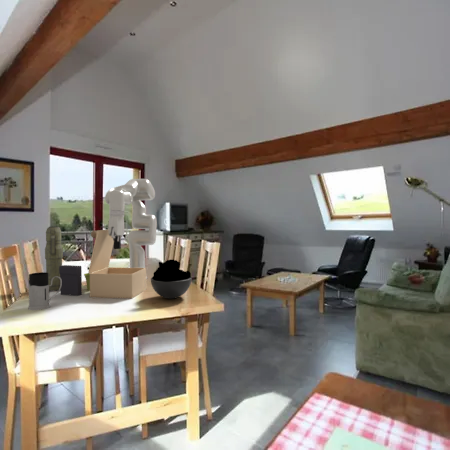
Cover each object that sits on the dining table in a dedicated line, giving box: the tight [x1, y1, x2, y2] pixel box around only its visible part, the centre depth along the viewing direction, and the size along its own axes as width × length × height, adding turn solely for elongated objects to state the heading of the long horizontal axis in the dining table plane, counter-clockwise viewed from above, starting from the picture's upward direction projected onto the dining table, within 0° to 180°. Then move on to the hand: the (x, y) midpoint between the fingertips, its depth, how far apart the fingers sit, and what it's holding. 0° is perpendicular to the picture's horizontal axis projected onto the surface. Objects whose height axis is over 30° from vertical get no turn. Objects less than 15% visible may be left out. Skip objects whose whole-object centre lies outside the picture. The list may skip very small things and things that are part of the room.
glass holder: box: [27, 271, 62, 311], centre depth 143 cm, size 9×14×15 cm, turn 94°
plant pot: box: [83, 272, 90, 291], centre depth 178 cm, size 9×9×9 cm
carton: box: [89, 266, 147, 299], centre depth 168 cm, size 20×22×12 cm
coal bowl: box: [150, 259, 192, 299], centre depth 158 cm, size 20×20×19 cm
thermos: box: [44, 226, 64, 292], centre depth 177 cm, size 9×12×35 cm
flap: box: [87, 229, 114, 274], centre depth 169 cm, size 20×22×9 cm
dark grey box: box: [59, 264, 83, 297], centre depth 166 cm, size 11×4×15 cm, turn 74°
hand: (117, 248), depth 168 cm, fingers closed
